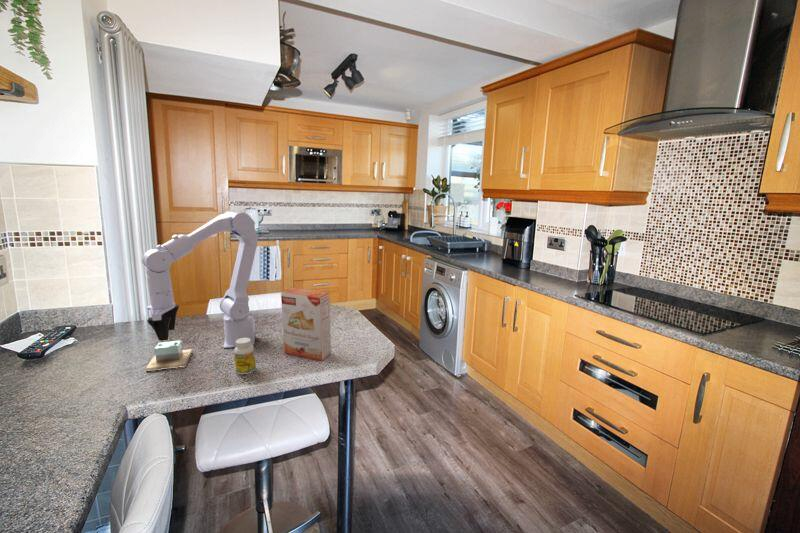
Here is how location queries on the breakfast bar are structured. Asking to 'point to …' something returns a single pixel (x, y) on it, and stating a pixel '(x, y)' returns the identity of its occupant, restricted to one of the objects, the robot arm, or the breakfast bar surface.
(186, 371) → the breakfast bar surface
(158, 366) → the plate
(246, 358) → the supplement bottle
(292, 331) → the cracker box
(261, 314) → the breakfast bar surface
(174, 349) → the housing
